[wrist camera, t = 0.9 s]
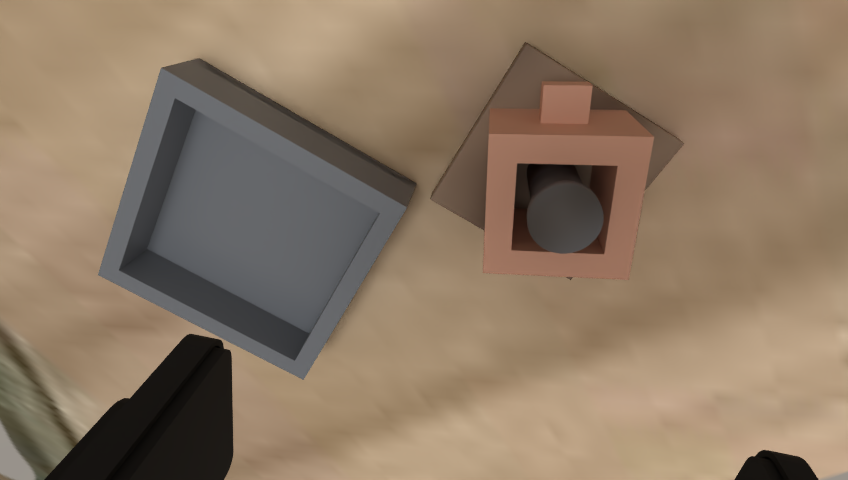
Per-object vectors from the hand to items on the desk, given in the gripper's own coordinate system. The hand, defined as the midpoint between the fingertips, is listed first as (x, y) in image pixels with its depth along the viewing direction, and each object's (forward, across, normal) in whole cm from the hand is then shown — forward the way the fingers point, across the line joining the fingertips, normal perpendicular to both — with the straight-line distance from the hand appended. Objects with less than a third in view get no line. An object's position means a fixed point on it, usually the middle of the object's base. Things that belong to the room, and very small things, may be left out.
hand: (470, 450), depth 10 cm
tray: (+20, +12, +6) cm, 24 cm away
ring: (+19, -3, 0) cm, 19 cm away
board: (+20, -3, 0) cm, 20 cm away
